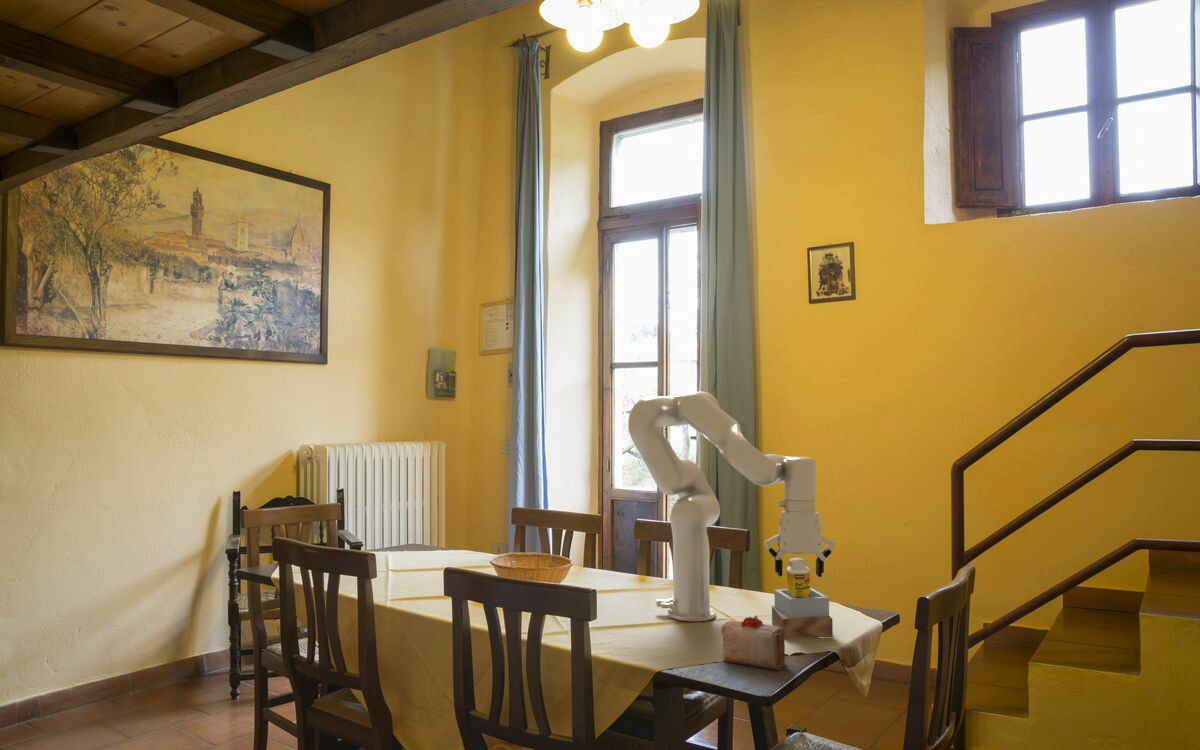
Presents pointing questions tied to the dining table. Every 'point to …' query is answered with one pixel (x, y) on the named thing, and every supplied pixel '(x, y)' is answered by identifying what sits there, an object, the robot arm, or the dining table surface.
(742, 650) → the food item
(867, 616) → the dining table surface
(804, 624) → the tower base
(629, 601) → the dining table surface
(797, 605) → the tower top
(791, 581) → the supplement bottle
